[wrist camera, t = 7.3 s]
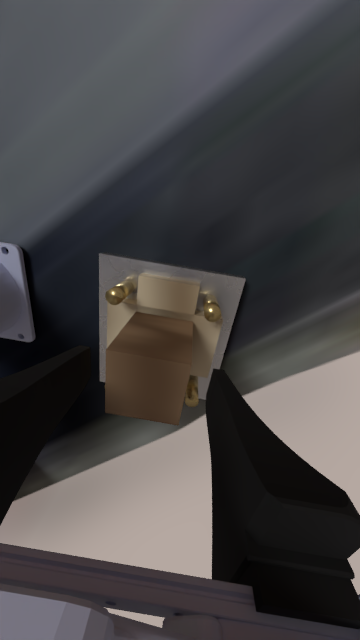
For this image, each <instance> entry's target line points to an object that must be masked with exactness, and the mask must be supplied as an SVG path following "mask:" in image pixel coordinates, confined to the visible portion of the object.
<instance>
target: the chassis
mask: <svg viewBox="0 0 360 640" xmlns="http://www.w3.org/2000/svg"><path fill="white" fill-rule="evenodd" d="M142 273H145V274H151V275H157V276H163V277H168V278H174V279H180V280H186V281H191V282H197V283H200V289H199V294H198V299H197V304H196V309H195V310H198V311H203V312H204V316H205V318H206V320H207V321H209V322H216V321H218V320H219V319H220V318H221V315H222V318H223V323H222V326H221V330H220V334H219V338H218V341H217V345H216V349H215V352H214V356H213V360H212V364H211V367H210V371H209V375H208V378H205V377H199V376H194V375H189V380H188V384H187V389H186V393H185V404H186V405H187V406H189V407H195V406H197V405H198V403H199V400H198V399H203V400H206V393H207V390H208V386H209V382H210V379H211V375H212V372H213V368H214V369H220V366H221V362H222V359H223V355H224V352H225V349H226V345H227V342H228V338H229V335H230V331H231V328H232V325H233V321H234V318H235V314H236V311H237V307H238V304H239V301H240V297H241V294H242V290H243V287H244V283H245V280H246V278H244V277H243V276H240V275H234V274H228V273H223V272H217V271H211V270H205V269H199V268H194V267H188V266H182V265H176V264H171V263H165V262H159V261H153V260H148V259H142V258H136V257H130V256H124V255H119V254H113V253H107V252H104V253H99V326H100V381H101V382H105V380H106V349H107V302H108V303H110V304H111V305H118V304H120V303H121V302H122V301H123V300H124V299H125V298H129V299H135V300H137V290H138V277H139V275H140V274H142Z"/></svg>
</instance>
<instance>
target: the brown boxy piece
mask: <svg viewBox="0 0 360 640" xmlns="http://www.w3.org/2000/svg"><path fill="white" fill-rule="evenodd" d="M199 289H200V283H197V282H191V281H186V280H180V279H174V278H168V277H163V276H157V275H151V274H145V273H142V274H140V275H139V277H138V290H137V300H135V299H129V298H125V299H124V300H123V301H122V302H121V303H120V304H118V305H111V304H110V303H108V302H107V349H106V380H105V413H111V414H116V415H122V416H128V417H133V418H139V419H145V420H150V421H156V422H162V423H167V424H173V425H179V420H180V416H181V411H182V407H183V402H184V398H185V393H186V389H187V384H188V380H189V375H194V376H199V377H205V378H208V375H209V371H210V367H211V364H212V360H213V356H214V352H215V349H216V345H217V341H218V338H219V334H220V330H221V326H222V323H223V318H222V315H221V318H220V319H219V320H218V321H216V322H209V321H207V320H206V318H205V316H204V312H203V311H198V310H195V309H196V304H197V299H198V294H199Z"/></svg>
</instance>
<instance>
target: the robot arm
mask: <svg viewBox="0 0 360 640" xmlns="http://www.w3.org/2000/svg"><path fill="white" fill-rule="evenodd" d="M6 248H7V249H8V251H9V253H8V252H7V251H6ZM0 337H1V338H7V339H13V340H18V341H24V342H32V341H33V340H35V337H36V336H35V330H34V323H33V317H32V310H31V304H30V297H29V291H28V284H27V278H26V271H25V265H24V258H23V252H22V250H21V248H20V247H19V246H18V245H15V244H10V243H5V242H0ZM90 376H91V356H90V347H86V346H81V345H80V346H77V347H75V348H72V349H70V350H68V351H66V352H64V353H61V354H59V355H57V356H55V357H53V358H51V359H48V360H46V361H44V362H42V363H39V364H37V365H35V366H32V367H30V368H27V369H25V370H23V371H20V372H18V373H15V374H12V375H9V376H7V377H4V378H1V379H0V525H1V523H2V521H3V519H4V517H5V515H6V513H7V511H8V509H9V508H10V505H11V504H12V502H13V500H14V498H15V496H16V494H17V493H18V491H19V489H20V487H21V485H22V483H23V482H24V480H25V478H26V476H27V474H28V473H29V471H30V469H31V467H32V466H33V464H34V462H35V460H36V459H37V457H38V455H39V454H40V452H41V450H42V449H43V447H44V445H45V444H46V442H47V440H48V439H49V437H50V435H51V434H52V432H53V431H54V429H55V428H56V427H57V425H58V424H59V422H60V421H61V420H62V418H63V417H64V416H65V414H66V413H67V412H68V410H69V409H70V408H71V406H72V405H73V404H74V402H75V401H76V399H77V398H78V397H79V395H80V394H81V392H82V391H83V389H84V388H85V386H86V384H87V382H88V380H89V378H90ZM206 418H207V427H208V434H209V443H210V452H211V464H212V466H211V467H212V533H213V534H212V579H206V578H200V577H194V576H188V575H183V574H177V573H171V572H165V571H159V570H153V569H148V568H142V567H136V566H130V565H124V564H118V563H113V562H107V561H101V560H95V559H90V558H84V557H78V556H72V555H66V554H60V553H55V552H49V551H43V550H37V549H31V548H25V547H19V546H14V545H8V544H2V543H0V640H360V594H359V595H357V593H356V590H355V589H354V586H353V584H352V582H351V579H353V578H354V572H353V570H352V568H351V566H350V564H349V562H348V560H347V558H349V557H350V556H351V555H352V554H353V553H354V552H356V551H357V550H358V549H359V548H360V515H359V513H358V512H357V510H356V508H355V507H354V505H353V503H352V502H351V500H350V498H349V497H348V495H347V494H346V492H345V491H344V490H342V489H341V488H340V487H338V486H337V485H336V484H334V483H333V482H331V481H330V480H329V479H327V478H326V477H325V476H323V475H322V474H321V473H319V472H318V471H317V470H315V469H314V468H313V467H311V466H310V465H309V464H308V463H307V462H306V461H304V460H303V459H302V458H301V457H299V456H298V455H297V454H296V453H295V452H294V451H292V450H291V449H290V448H289V447H288V446H287V445H286V444H284V443H283V442H282V440H280V439H279V438H278V437H277V436H276V435H275V434H274V433H273V432H272V431H271V430H270V429H269V428H268V427H267V426H266V425H265V424H264V422H263V421H262V420H261V419H260V418H259V417H258V416H257V415H256V414H255V412H254V411H253V410H252V409H251V408H250V406H249V405H248V404H247V403H246V401H245V400H244V399H243V397H242V396H241V395H240V393H239V392H238V390H237V389H236V388H235V386H234V385H233V383H232V382H231V380H230V379H229V377H228V376H227V374H226V373H225V371H224V370H220V369H214V368H213V372H212V375H211V379H210V382H209V386H208V390H207V393H206ZM104 607H106V608H112V609H118V610H124V611H130V612H135V613H141V614H147V615H153V616H159V617H165V619H164V621H163V627H162V628H160V627H156V626H152V625H149V624H146V623H142V622H138V621H135V620H132V619H128V618H125V617H121V616H118V615H115V614H111V613H109V612H108V610H107V609H106V608H104Z"/></svg>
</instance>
